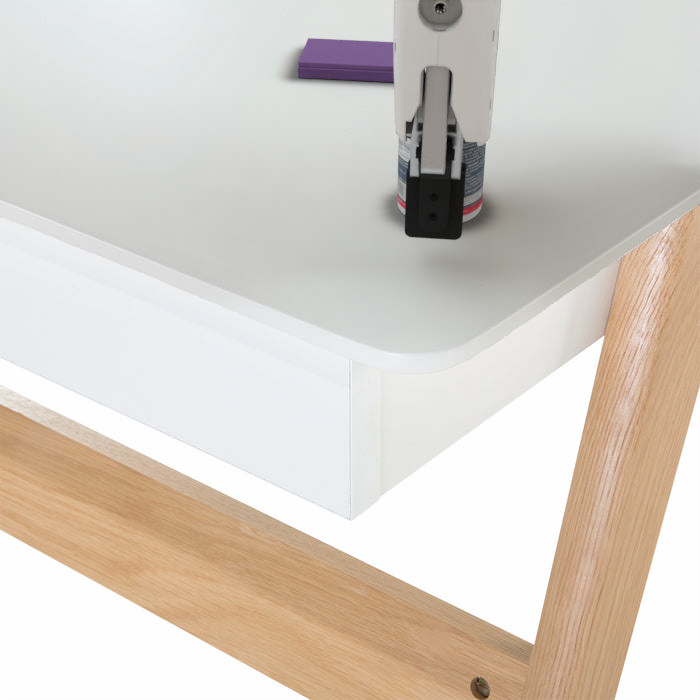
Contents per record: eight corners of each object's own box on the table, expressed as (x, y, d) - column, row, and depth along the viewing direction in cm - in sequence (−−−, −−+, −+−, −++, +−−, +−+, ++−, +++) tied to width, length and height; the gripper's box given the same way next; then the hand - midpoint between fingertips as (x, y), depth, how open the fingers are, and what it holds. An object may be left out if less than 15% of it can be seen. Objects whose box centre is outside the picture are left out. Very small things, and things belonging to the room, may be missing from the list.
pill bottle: (494, 200, 78) (505, 65, 73) (461, 235, 74) (469, 95, 69) (418, 182, 80) (423, 49, 75) (382, 215, 76) (385, 78, 71)
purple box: (458, 56, 98) (459, 42, 97) (454, 85, 93) (455, 70, 93) (309, 49, 99) (309, 35, 99) (298, 77, 94) (297, 62, 94)
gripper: (527, -55, 53) (497, 305, 63) (527, -136, 65) (502, 177, 76) (355, -61, 54) (352, 296, 64) (386, -140, 66) (380, 170, 76)
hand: (433, 231), depth 70 cm, fingers closed
